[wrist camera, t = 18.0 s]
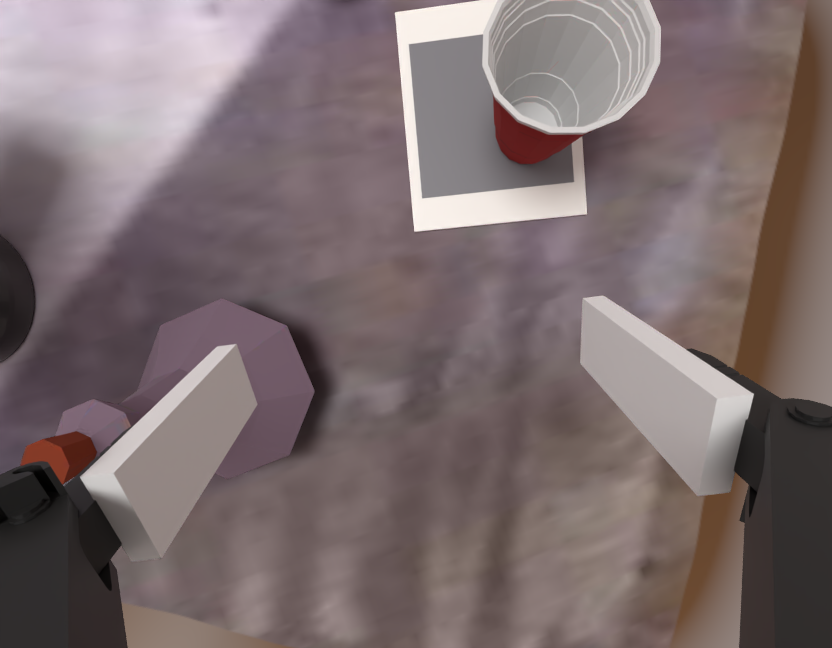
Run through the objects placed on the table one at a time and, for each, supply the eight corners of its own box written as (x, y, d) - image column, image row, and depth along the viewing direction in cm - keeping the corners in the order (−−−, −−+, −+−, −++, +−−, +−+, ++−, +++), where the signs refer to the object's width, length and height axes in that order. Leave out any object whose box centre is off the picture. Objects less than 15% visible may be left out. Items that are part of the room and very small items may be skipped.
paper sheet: (414, 232, 37) (414, 231, 36) (395, 14, 36) (394, 11, 35) (585, 214, 36) (587, 213, 35) (571, -10, 34) (573, -14, 34)
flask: (173, 457, 40) (-96, 616, 20) (167, 298, 39) (-124, 296, 19) (330, 461, 39) (212, 633, 19) (327, 298, 38) (200, 296, 18)
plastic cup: (578, 57, 34) (652, -72, 22) (595, 178, 35) (677, 114, 23) (458, 83, 35) (468, -30, 23) (477, 200, 36) (496, 150, 24)
